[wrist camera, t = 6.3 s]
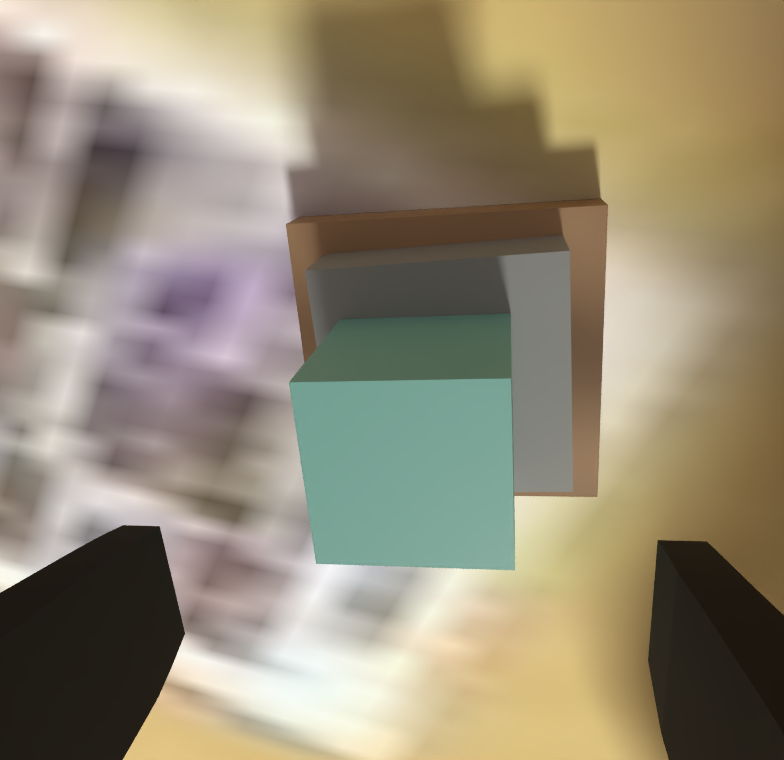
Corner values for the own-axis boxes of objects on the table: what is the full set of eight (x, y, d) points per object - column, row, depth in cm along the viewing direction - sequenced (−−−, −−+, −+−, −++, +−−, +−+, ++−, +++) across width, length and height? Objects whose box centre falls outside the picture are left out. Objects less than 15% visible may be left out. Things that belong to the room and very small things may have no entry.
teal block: (513, 468, 17) (515, 569, 13) (357, 467, 17) (316, 563, 14) (510, 313, 15) (511, 378, 12) (339, 319, 16) (288, 382, 12)
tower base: (589, 462, 21) (597, 497, 19) (337, 461, 22) (322, 492, 20) (597, 195, 18) (607, 205, 16) (307, 213, 19) (285, 224, 17)
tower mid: (566, 454, 18) (573, 491, 17) (355, 457, 20) (339, 493, 18) (563, 234, 16) (569, 250, 14) (325, 253, 17) (304, 270, 16)
